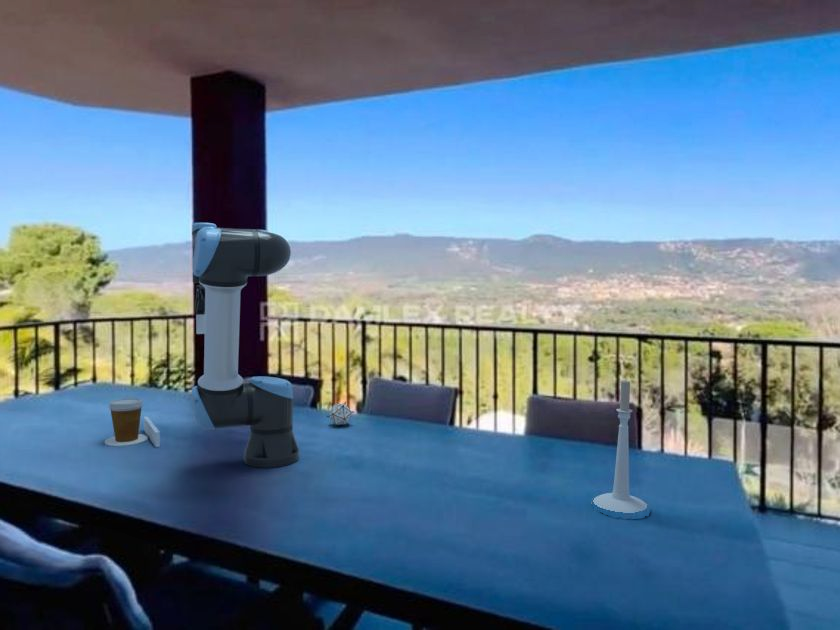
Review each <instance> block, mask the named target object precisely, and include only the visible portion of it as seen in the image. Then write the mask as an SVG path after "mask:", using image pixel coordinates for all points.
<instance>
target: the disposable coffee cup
mask: <svg viewBox="0 0 840 630" xmlns="http://www.w3.org/2000/svg"><path fill="white" fill-rule="evenodd" d="M143 406H144V403H143V402H142V399H140V398H120V399H115V400H112V401H110V402H109V406H108V408H109V410H110V414H111V422H112V427H113V433H114V436H115V440H116V441H117V442H129V441H134V440H136V439H138V434H140V426H141V425H140V423H141V417H142V416H141V414H142V408H143Z"/></svg>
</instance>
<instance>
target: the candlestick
mask: <svg viewBox="0 0 840 630" xmlns="http://www.w3.org/2000/svg"><path fill="white" fill-rule="evenodd" d="M630 392H631V381H629V380H620V394H619V395H620V396H619V401H620V402H619V408H616V409H615V410H616V412H617V413H618V415H617V418H618V419H619V425H618V434H617V435H618V436H617V447H616V459H615V467H614V479H613V487H612V488H613V489H612V492H607V493H603V494H599V495H597V496H595V497H594V498H593V499H594V500H593V499H592V500H593V502H594V504H595V505H597V506H598V507H600V508H603V509H606V510H610V511H615V512H623V513H635V512H639V511H643V510H645V509H646V508H647V505H648V504H647V503H646V502H645V501H644V500H642V499H641V498H638V497H636V496H634V495H631V494H630V461H629V458H630V457H629V454H630V452H629V451H630V449H629V425H628V422H629V420H630V419H631V413H633V409H630Z"/></svg>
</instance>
